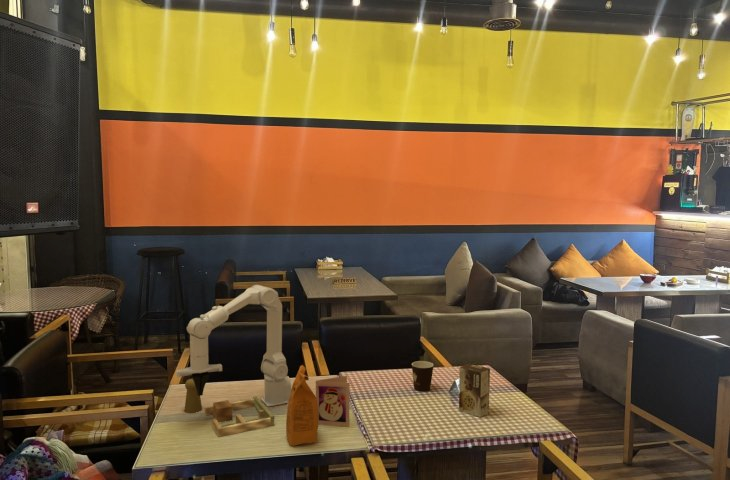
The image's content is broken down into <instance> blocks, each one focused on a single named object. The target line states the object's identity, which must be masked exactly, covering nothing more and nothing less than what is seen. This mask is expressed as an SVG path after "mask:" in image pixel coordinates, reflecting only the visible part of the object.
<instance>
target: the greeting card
mask: <svg viewBox="0 0 730 480" xmlns="http://www.w3.org/2000/svg"><path fill="white" fill-rule="evenodd" d="M350 383H351V382H348V375H343V376H342V375H341V376H337V377H330V378H324V379H318V380H315V397H316V400H317V407H318V420H319V421H318V426H319V425H320V426H322V425H323V426H335V427H348V428H349V427H350V398H351V395H350V387H351V386H350Z"/></svg>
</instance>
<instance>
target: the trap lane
mask: <svg viewBox="0 0 730 480" xmlns="http://www.w3.org/2000/svg"><path fill="white" fill-rule="evenodd" d="M230 404H231V405H232V410H233V411H236V409H238V410H243V409H247V407H249V408H253V407H254V408H255V409H256V410H257V412H258V418H254V419H249V420H245V419H244V418H243V417H242V415H241V414H240V413H239V414H235V416H234V417H235V422H234V423H228V424H223V425H221V424H220V423H218V421H217V420H216V419H215V418H212V419H211V422H212V424H211V425H212V426H211V427H212V428H214V429H213V430H214V432H215V434H216V435H217V437H224V436H229V435H235V434H239V433H244V432H249V431H253V430H254V431H255V430H258V429H259V430H260V429H263V428H269V427H274V426H275V415H274V414H273V413H272V412H271V411H270V409H269V408H267V406H266V404H265V403H264V402H263V401H262V400H261V399H260V398H259V397H258V395H257V396H255V395H254V396H253V397H252V398H250V399H245V400H244V399H243V400H238V401H232V402H230ZM242 408H243V409H242ZM204 415H205V416H210V415H211V416H212V415H213V405H211V406H205V407H204Z"/></svg>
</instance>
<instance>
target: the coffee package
mask: <svg viewBox="0 0 730 480" xmlns="http://www.w3.org/2000/svg"><path fill="white" fill-rule="evenodd" d="M306 369H307V368H306V367H305V366H304V365H303V364H302V365H300V366H299V369H298V371H297V374H296V375H295V378H294V380H293V383H292V384H291V394H290V398H289V402H288V403H287V407H286V410H287V411H286V421H285V422H286V425H285V426H286V427H285V434H286V436H285V437H286V438H287V441H288V443H289V446H291V447H292V446H293V447H294V446H297V445H301V444H312V443H316V442H317V441H318V428H319V425H318V421H319V420H318V407H317V400H316V394H314V392H313V390H312V388H310V386H309V385H308V383H307V382H306V381H309V380H310V378H309V376H307V375H305V373H306Z"/></svg>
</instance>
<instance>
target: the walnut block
mask: <svg viewBox="0 0 730 480" xmlns="http://www.w3.org/2000/svg"><path fill="white" fill-rule="evenodd" d="M230 403H231V402H230V401H229V400H221V401H216V402H215V401H214V402H213V405H212V406H213V414H212V415H213V416H214V417H213V419H216V420H217V421H218V423H219V422H221V423H225V421H226V422H231V421H233V420H234V419H233V411H232V405H231V404H230ZM219 424H220V423H219Z"/></svg>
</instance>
